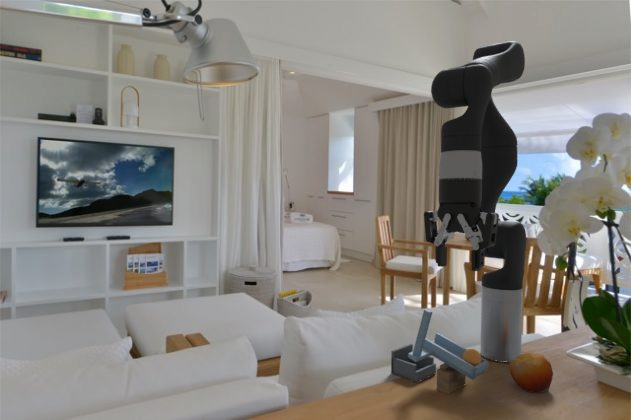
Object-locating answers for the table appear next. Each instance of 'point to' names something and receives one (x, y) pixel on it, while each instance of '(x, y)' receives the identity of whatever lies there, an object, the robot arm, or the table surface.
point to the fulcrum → (449, 379)
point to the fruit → (531, 372)
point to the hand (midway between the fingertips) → (458, 268)
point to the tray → (411, 364)
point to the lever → (444, 351)
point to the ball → (472, 357)
